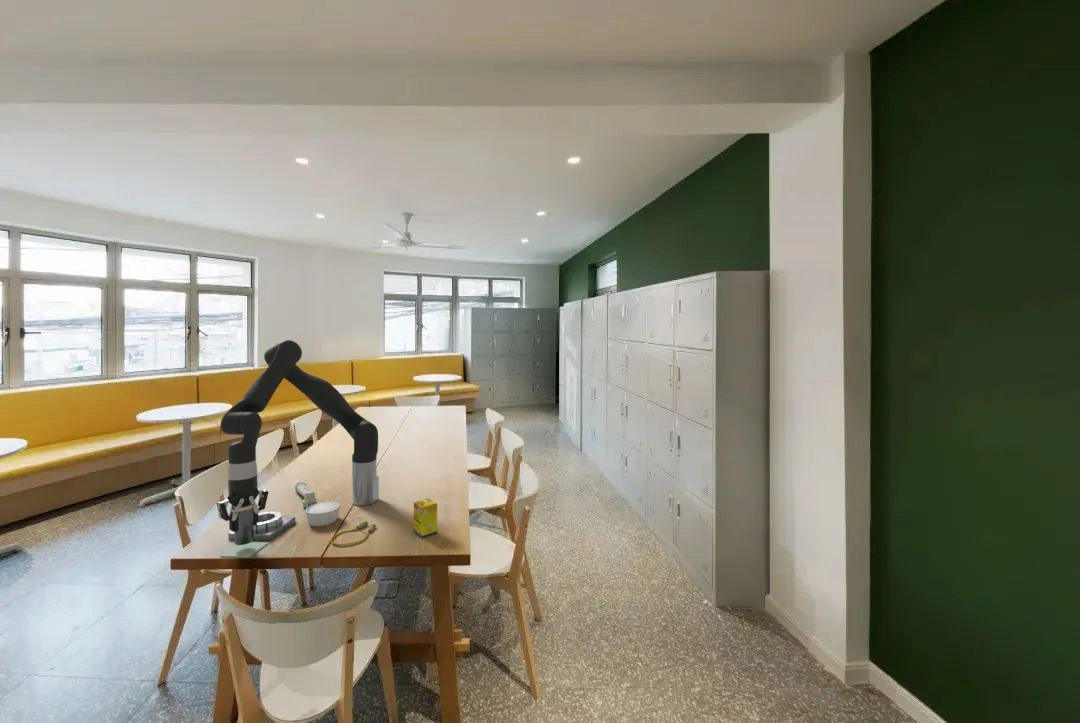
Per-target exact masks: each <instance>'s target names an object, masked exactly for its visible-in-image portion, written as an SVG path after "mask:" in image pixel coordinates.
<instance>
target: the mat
mask: <svg viewBox="0 0 1080 723" xmlns="http://www.w3.org/2000/svg"><path fill="white" fill-rule="evenodd" d="M267 545H269V542H267V541H266V542H265V541H252V542H251V543H248V544H245V545H236V544H235V545H234V546H233V547H232V548H230V549H228V550H227V551H225V552H224V553H223V554H221V555H220V558H236V559H237V558H238V559H239V558H241V559H245V558H246V559H249V558H251V557H252V556H254V555H255V554H256V553H258V552H259V551H260V550H262V549H264V548H265V547H266V546H267Z"/></svg>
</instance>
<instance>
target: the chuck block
mask: <svg viewBox="0 0 1080 723" xmlns="http://www.w3.org/2000/svg"><path fill="white" fill-rule="evenodd" d="M258 517H259V521H258V523H257V525H254V540H253V541H271V540H272V539H274V538H276V537H277V536H278V535H280V534H281V533H282V532H284V531H286V529H288V528H289V527H291V526H292V525H293V524H295V523H296V516H284V515H283V513H281V512H279V511H275V510H273V511H272V510H271V511H264V512H263V511H262V512H259V513H258ZM227 534H228V535H227V536H228V540H235V537H234V532H233V531H230V532H228V533H227Z"/></svg>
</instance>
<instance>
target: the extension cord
mask: <svg viewBox="0 0 1080 723" xmlns="http://www.w3.org/2000/svg"><path fill="white" fill-rule="evenodd" d="M368 524H369V522H368V521H367V520H366V521H362V522H360V523H359V524H358V525H356V527H355V528H353V529H351V530H344V531H340V532H339V533H337V534H335V535H334V536H333V537H332V538H331V544H332V545H333V546H335V547H340V548H341V547H350V546H355V545H358V544H357V543H359V544H361V542H362V543H363V541H364V542H365V541H367V539H368V535H369V534H370V533H372V532H374V530H375V528H376V527H377V524H374V523H372V524H370V526H369V527H368V529H367V533H366V532H365V531H363V530H361V529H362V528H365V527H366V526H368ZM349 532H361V533H363V534H365V536H364V537H363V539H360V540H358V541H354V542H350V543H335V542H333V541H334V540H335V538H337V537H338V536H340V535H342V534H344V533H349ZM354 544H355V545H354Z"/></svg>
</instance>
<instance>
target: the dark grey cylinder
mask: <svg viewBox="0 0 1080 723" xmlns="http://www.w3.org/2000/svg"><path fill="white" fill-rule="evenodd" d="M234 509H236V508H235V507H234ZM236 520H237V532H234V537H235V539H234V545H235V546H236V545H245V544H248V543H251V542H254V541H255V540H254V508H253V504H248V505H244V506H241V507H240V508H239V513H238V515H237V518H236Z"/></svg>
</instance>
